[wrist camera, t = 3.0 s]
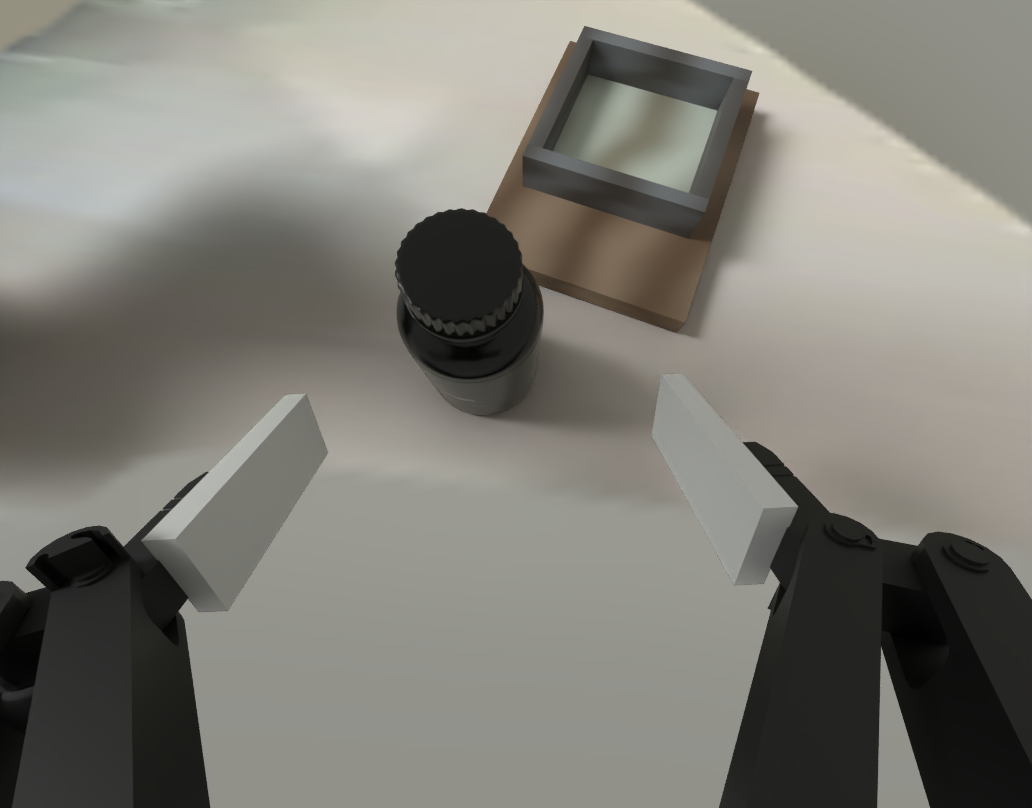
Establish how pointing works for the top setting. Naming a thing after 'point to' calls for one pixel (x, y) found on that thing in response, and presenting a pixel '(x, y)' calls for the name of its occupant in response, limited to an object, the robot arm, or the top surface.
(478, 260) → the supplement bottle
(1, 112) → the top surface
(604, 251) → the base board
